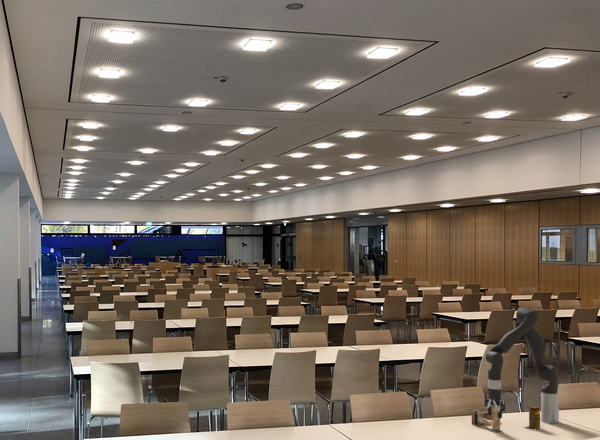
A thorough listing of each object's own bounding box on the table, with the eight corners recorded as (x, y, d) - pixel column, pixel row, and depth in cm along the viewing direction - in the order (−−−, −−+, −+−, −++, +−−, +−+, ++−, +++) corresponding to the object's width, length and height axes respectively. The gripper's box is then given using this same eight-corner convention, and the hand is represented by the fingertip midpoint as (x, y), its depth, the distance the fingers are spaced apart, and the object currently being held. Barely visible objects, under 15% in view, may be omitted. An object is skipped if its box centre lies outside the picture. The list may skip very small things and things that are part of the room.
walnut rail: (494, 420, 378) (494, 406, 379) (497, 421, 376) (497, 407, 377) (471, 424, 370) (471, 410, 370) (474, 425, 368) (474, 411, 368)
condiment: (543, 428, 362) (543, 407, 362) (534, 431, 357) (534, 409, 357) (532, 425, 368) (532, 404, 368) (523, 427, 363) (523, 406, 364)
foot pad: (494, 428, 360) (494, 428, 360) (502, 431, 355) (502, 431, 355) (487, 430, 358) (487, 429, 358) (494, 432, 352) (494, 432, 352)
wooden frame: (500, 429, 357) (500, 408, 357) (496, 430, 355) (496, 408, 356) (479, 423, 369) (479, 402, 369) (476, 424, 367) (476, 403, 368)
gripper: (508, 389, 353) (509, 419, 352) (490, 384, 366) (490, 413, 365) (499, 390, 349) (499, 420, 349) (480, 385, 362) (480, 414, 361)
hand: (494, 416), depth 357 cm, fingers open, 7 cm apart
